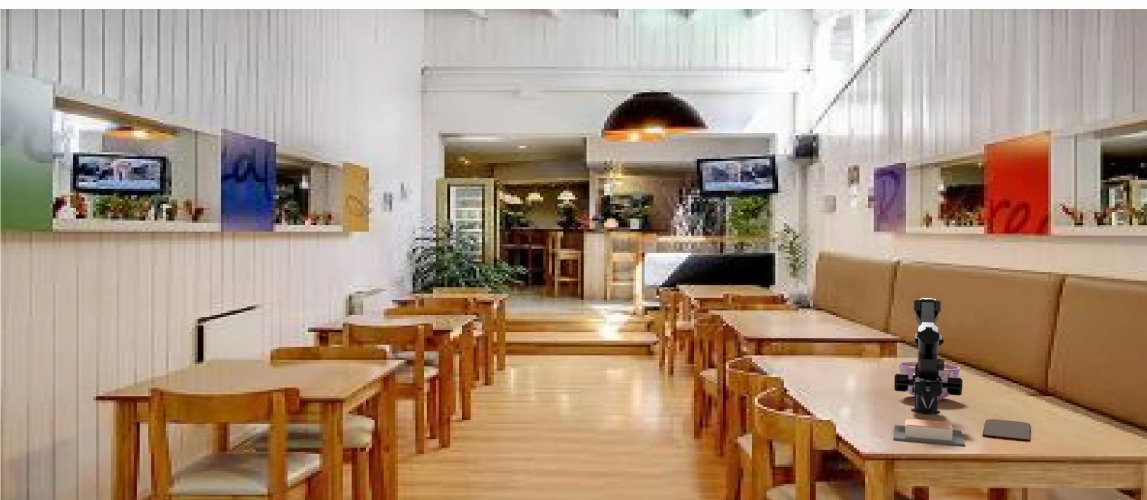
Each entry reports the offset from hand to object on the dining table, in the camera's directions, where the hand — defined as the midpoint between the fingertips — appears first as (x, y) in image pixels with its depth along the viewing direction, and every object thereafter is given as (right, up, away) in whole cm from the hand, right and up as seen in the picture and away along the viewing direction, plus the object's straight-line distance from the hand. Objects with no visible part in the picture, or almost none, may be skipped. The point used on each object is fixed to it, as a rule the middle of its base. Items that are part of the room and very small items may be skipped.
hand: (927, 408), depth 263 cm
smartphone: (+23, -7, -1) cm, 24 cm away
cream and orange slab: (-2, -4, -6) cm, 8 cm away
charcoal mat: (-4, -6, -10) cm, 12 cm away
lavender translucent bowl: (+21, -6, +52) cm, 56 cm away
